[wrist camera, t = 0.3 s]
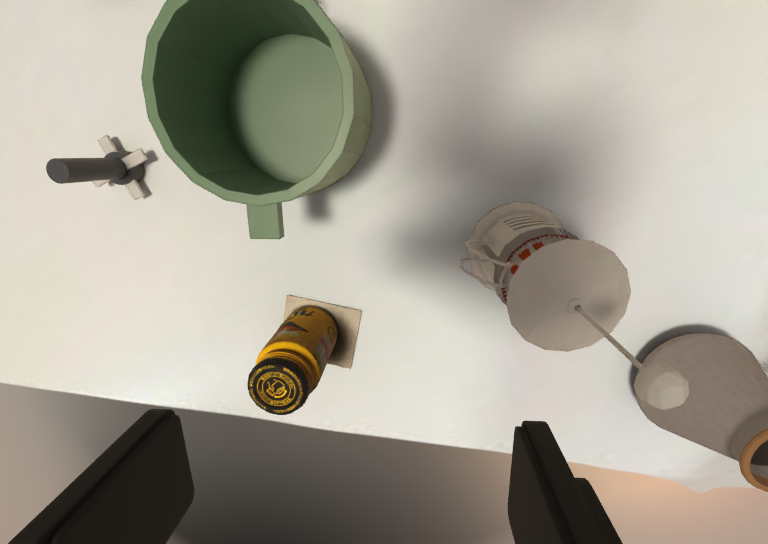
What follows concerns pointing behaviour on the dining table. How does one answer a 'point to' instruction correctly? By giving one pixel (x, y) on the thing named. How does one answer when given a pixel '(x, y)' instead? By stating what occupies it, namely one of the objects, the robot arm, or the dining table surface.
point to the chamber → (255, 100)
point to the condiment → (302, 353)
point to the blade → (102, 168)
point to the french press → (561, 289)
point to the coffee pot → (718, 400)
